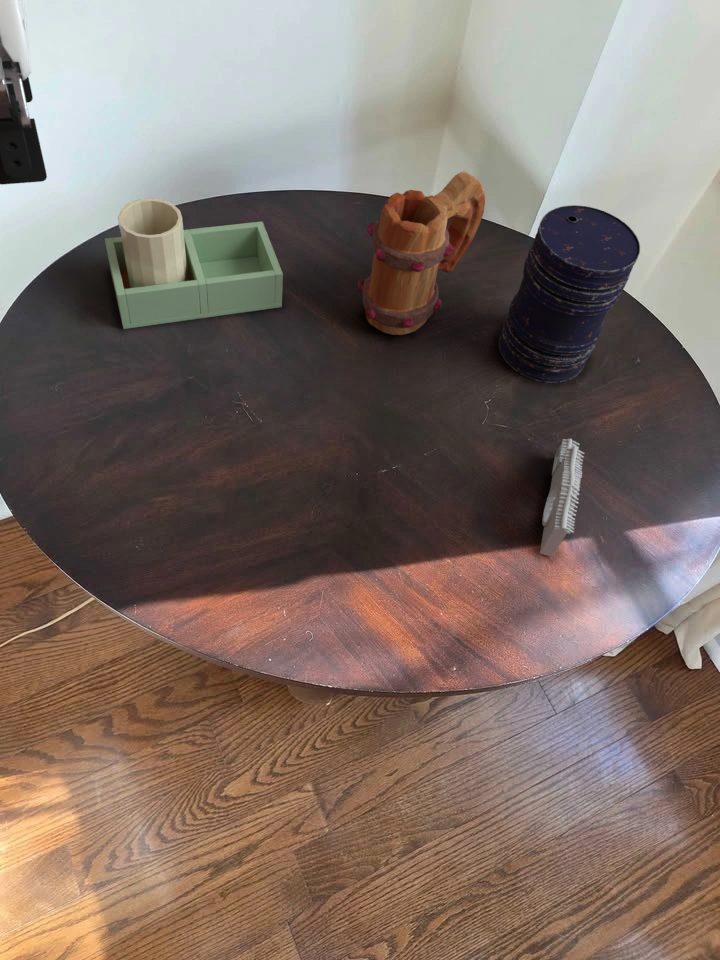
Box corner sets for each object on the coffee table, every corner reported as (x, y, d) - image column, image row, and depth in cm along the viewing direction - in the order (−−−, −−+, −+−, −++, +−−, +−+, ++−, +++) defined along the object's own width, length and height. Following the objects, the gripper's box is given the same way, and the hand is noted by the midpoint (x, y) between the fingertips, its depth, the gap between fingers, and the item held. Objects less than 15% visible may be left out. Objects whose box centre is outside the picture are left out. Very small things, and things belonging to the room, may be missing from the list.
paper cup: (135, 312, 81) (123, 240, 73) (126, 273, 84) (114, 201, 76) (193, 304, 82) (187, 233, 75) (182, 267, 85) (175, 195, 78)
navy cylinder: (604, 370, 84) (662, 259, 72) (529, 394, 81) (578, 282, 69) (553, 309, 89) (600, 196, 77) (480, 330, 86) (518, 215, 74)
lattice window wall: (552, 455, 77) (572, 417, 72) (570, 460, 76) (591, 422, 72) (535, 556, 70) (556, 521, 65) (555, 561, 70) (577, 527, 65)
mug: (388, 358, 82) (411, 240, 70) (338, 313, 85) (352, 193, 73) (482, 304, 88) (519, 188, 76) (433, 264, 91) (460, 146, 79)
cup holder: (123, 329, 80) (116, 295, 76) (111, 273, 85) (104, 238, 81) (281, 307, 84) (283, 273, 81) (262, 255, 89) (262, 221, 85)
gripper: (-141, -233, 43) (-49, 77, 57) (-151, -114, 34) (-39, 221, 48) (3, -224, 45) (58, 73, 59) (31, -110, 36) (89, 210, 50)
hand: (15, 139), depth 53 cm, fingers open, 9 cm apart
